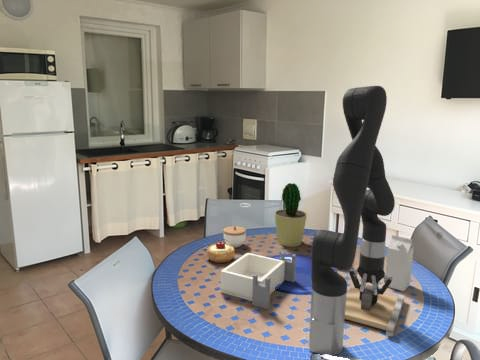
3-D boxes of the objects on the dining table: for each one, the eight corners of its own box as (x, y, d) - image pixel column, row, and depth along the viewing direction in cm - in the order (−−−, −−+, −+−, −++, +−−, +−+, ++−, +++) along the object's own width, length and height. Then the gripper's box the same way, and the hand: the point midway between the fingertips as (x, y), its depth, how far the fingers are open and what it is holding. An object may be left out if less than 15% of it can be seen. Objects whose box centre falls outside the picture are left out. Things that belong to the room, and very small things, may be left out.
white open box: (267, 309, 129) (268, 279, 127) (217, 294, 138) (217, 266, 136) (295, 280, 150) (296, 254, 148) (249, 269, 159) (250, 245, 157)
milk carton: (390, 279, 152) (395, 232, 148) (409, 285, 148) (415, 237, 144) (384, 286, 147) (388, 237, 143) (403, 292, 142) (409, 242, 138)
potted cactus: (310, 240, 193) (313, 181, 188) (298, 250, 180) (301, 186, 174) (281, 235, 201) (283, 177, 195) (268, 244, 188) (270, 182, 182)
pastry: (201, 259, 170) (200, 240, 168) (221, 252, 178) (221, 233, 177) (220, 267, 162) (219, 246, 160) (240, 258, 170) (240, 239, 168)
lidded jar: (220, 242, 190) (220, 223, 188) (241, 240, 193) (242, 222, 191) (226, 250, 179) (226, 230, 178) (248, 248, 183) (249, 228, 181)
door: (392, 336, 114) (394, 316, 112) (332, 319, 122) (333, 300, 121) (404, 300, 135) (405, 282, 134) (352, 288, 143) (353, 271, 142)
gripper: (347, 251, 125) (343, 302, 129) (393, 261, 119) (388, 313, 122) (353, 244, 132) (349, 292, 135) (397, 253, 125) (392, 303, 128)
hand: (368, 302), depth 128 cm, fingers closed on door, 3 cm apart
